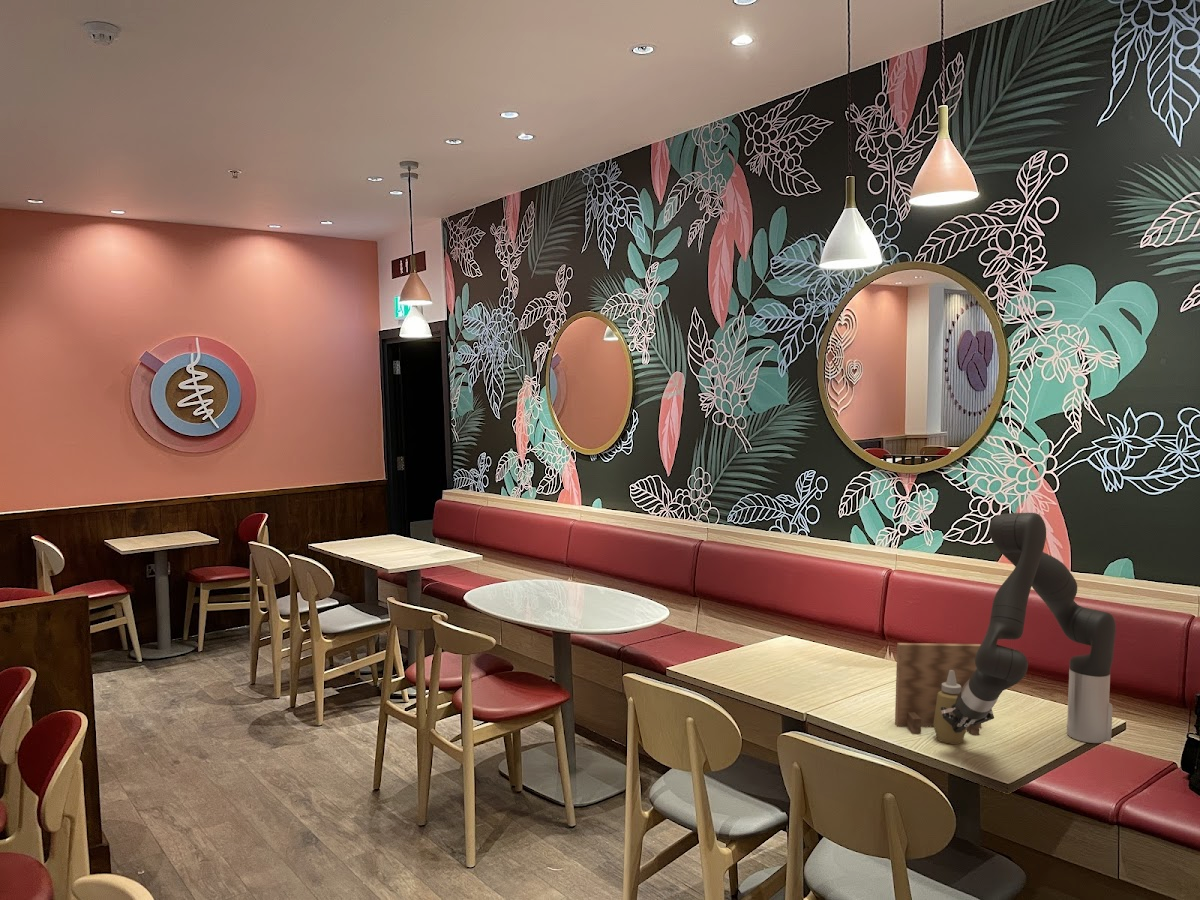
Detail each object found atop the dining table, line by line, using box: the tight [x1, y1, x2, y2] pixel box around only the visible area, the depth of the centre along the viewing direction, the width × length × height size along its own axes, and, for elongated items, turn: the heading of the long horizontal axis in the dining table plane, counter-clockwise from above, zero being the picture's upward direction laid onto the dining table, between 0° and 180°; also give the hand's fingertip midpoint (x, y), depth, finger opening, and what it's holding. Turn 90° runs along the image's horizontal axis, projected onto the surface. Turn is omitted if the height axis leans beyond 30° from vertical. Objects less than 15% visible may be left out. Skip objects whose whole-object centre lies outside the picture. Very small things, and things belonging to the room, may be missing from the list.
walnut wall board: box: [894, 642, 982, 736], centre depth 233 cm, size 22×7×22 cm, turn 88°
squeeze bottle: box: [933, 670, 967, 745], centre depth 226 cm, size 8×8×18 cm
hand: (956, 728), depth 223 cm, fingers closed
